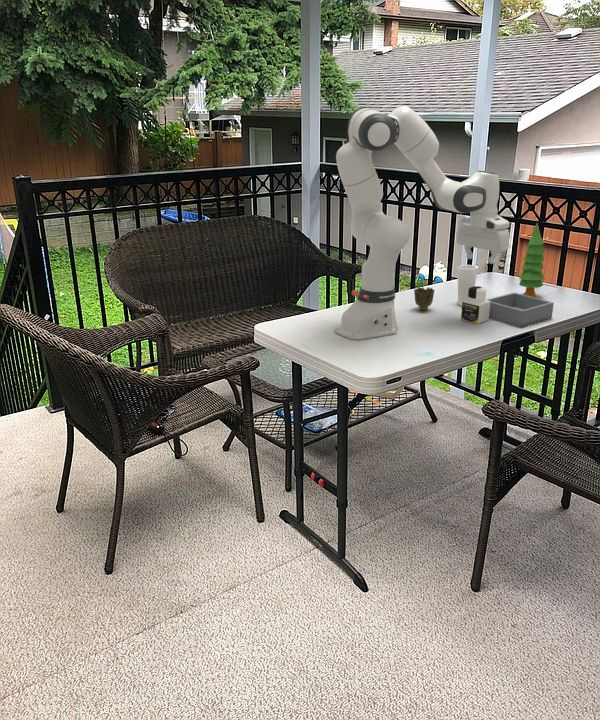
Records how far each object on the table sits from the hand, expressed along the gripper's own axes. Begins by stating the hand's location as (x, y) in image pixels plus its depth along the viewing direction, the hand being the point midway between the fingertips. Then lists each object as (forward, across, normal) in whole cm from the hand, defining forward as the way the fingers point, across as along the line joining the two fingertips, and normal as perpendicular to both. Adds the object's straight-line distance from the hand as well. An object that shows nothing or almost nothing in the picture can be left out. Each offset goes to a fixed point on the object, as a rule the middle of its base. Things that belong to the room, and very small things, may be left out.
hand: (480, 260), depth 219 cm
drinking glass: (+22, -15, +11) cm, 29 cm away
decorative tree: (+22, -7, +39) cm, 45 cm away
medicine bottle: (+22, 0, 0) cm, 22 cm away
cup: (+22, -20, -6) cm, 30 cm away
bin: (+22, +7, +14) cm, 26 cm away
